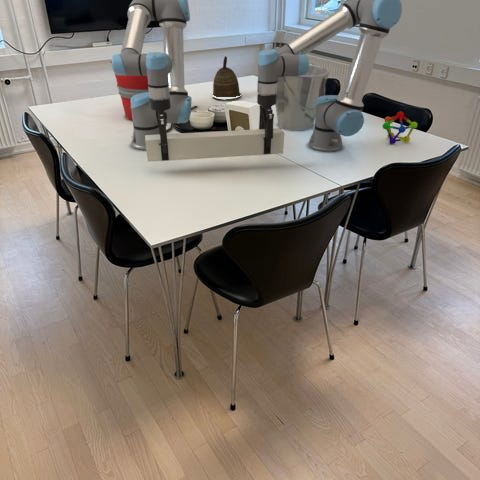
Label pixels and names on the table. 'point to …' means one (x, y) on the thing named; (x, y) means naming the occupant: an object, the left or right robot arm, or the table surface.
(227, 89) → the bell
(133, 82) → the bucket
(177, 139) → the beam
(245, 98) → the table surface
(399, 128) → the educational toy
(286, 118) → the bucket
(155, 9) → the left robot arm
